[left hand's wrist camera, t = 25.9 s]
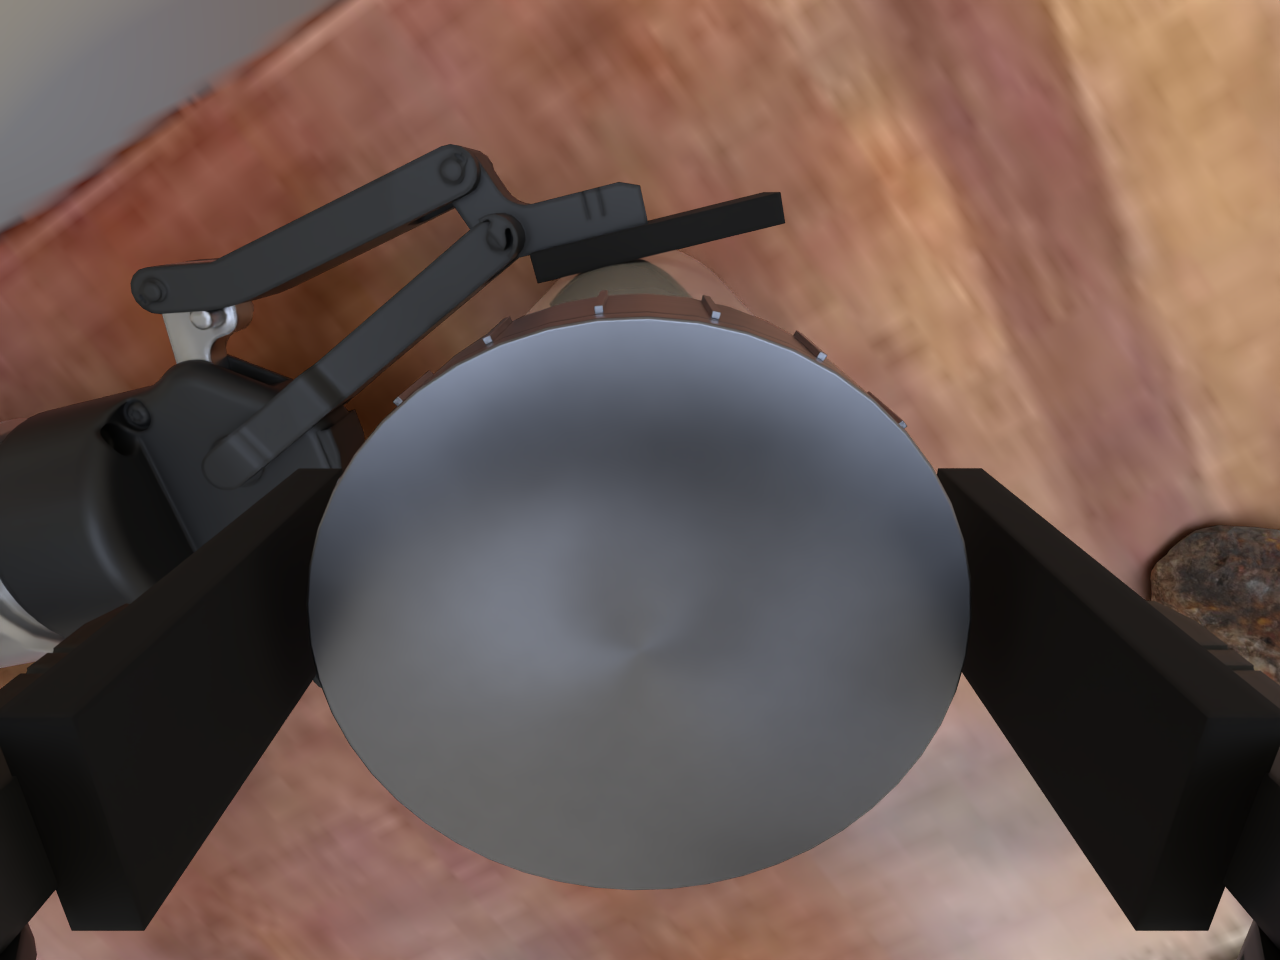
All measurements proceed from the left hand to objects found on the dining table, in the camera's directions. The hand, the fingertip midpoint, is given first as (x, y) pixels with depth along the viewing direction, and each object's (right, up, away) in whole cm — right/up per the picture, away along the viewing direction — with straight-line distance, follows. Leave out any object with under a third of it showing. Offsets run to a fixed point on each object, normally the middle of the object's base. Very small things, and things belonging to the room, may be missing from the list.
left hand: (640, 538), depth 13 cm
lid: (0, -1, -3) cm, 3 cm away
